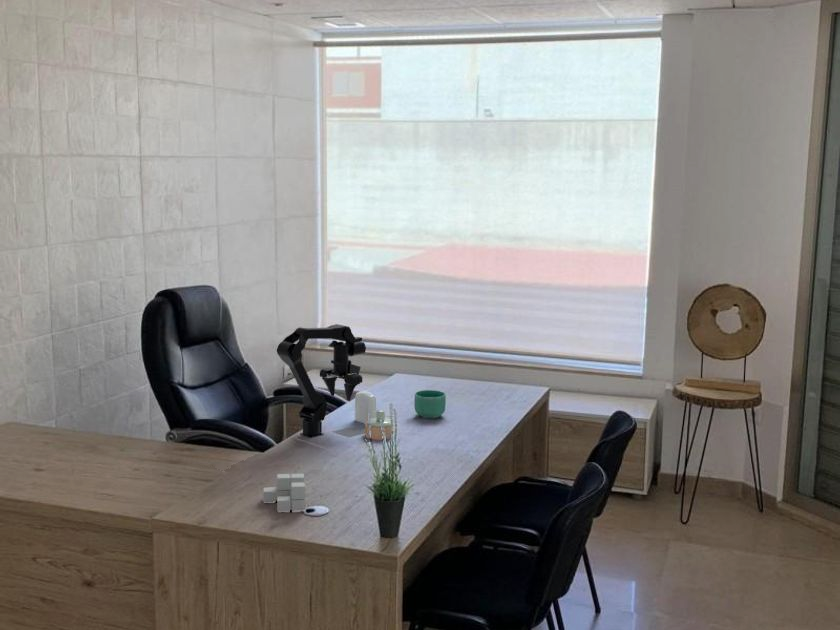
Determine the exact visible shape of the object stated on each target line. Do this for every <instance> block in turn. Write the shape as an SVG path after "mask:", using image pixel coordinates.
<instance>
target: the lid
mask: <svg viewBox="0 0 840 630" xmlns="http://www.w3.org/2000/svg"><path fill="white" fill-rule="evenodd" d="M381 417H382V423H383V427H388V426H391V421H390V420H391V418H387V417H386V411H385V409H376V418H372V419H370V421H371V426H374V427H381V425H380V419H381ZM367 424H368V425H369V420H367Z"/></svg>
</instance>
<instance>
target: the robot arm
mask: <svg viewBox="0 0 840 630" xmlns="http://www.w3.org/2000/svg"><path fill="white" fill-rule="evenodd" d="M313 339H314V340H318V339H332V341H331V343H329V345H328V348H329V347H330V348H332V349H333V352H332V353H333V360H332V359H331V361H330V363H331V364H333V365H332V366H333V367H327V368H322V369H320V371H319V377H321V380H322V381H323V382H324V384H325V386H326V388H327V389H328V392H329V395H330V396H331V397H334V396H335V391H336V381H337V379H341V380H343V382H344V383H343V386H344V387H343V388H344V393H345V396H346V400H347V401H351V398H352V396H353V393H354V390H355V388H356V387H357V386H358V385H360V384H361V383H363V376H362V375H361V374H360V370H361V366H358V365H355V364H353V363H352V360H350V359H349V357H353V356H354V357H356V356H361V355H364V354H365V353H366V351H367V347H366V346H367V345H366V343H365V341H364V340H363V337H360V336H357V337H356V336H354V334H353V332H352V328H351V327H350V326H348V325H343V324H338V323H337V324H331V325H329V326H327V327H300V326H299V327H298V328H296V329H295V330H294V331H293V332H292V333H290V334H289V335H287V336H286V337H284V339H283V340H282V341H281V342H280V343H279V344H278V345H277V348H276V353H277V355H278V357H279V358H280V359H281V361H282V362H284V363H285V364H286V365H287V366H288V367H289V370H290V371H291V373H292V375H293V377H294V379H295V381H296V384H297V386H298V387H299V389H300V392H301V394H302V396H303V398H302V403H303V406H302V408H301V409H300V411H299V412H298V416H299V418H300V419H302V432H300V433H299V435H300V436H304V437H307V438H311V439H312V438H315V437H320V436H324V435H325V434H324V433H323V432H322V431H323V429H322V428H323V427H322V424H323V423H322V421H325V416H326V415H327V410H328V408H329V407H328V402H329V401H328V400H327V399H326V396H325V394H324V393H322V392H318V391H316V389H315V387H314V385H313V383H312V381H311V378H310V376H309V374H308V372H307V370H306V368H305V366H304V364H303V362H302V359H303V353H302V352H303V350H304V349H305V348H306V346H307V345H306V344H307V342H308V340H313ZM337 340H338V341H337ZM296 342H297V343H296Z"/></svg>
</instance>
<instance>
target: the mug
mask: <svg viewBox="0 0 840 630" xmlns="http://www.w3.org/2000/svg"><path fill="white" fill-rule="evenodd" d="M446 401H447V397H446V393H445V391H440V390H436V389H435V390H432V389H423V390H418V391H415V393H414V400H413V402H414V405H413V406H414V411H415V412H416V414H417V415H418V416H420V417H421V418H424V419H429V420H430V419H432V420H433V419H437V418H439V417H440V416H442V415H443V414H444V413H445V411H446V403H447V402H446Z"/></svg>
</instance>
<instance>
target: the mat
mask: <svg viewBox="0 0 840 630" xmlns="http://www.w3.org/2000/svg"><path fill="white" fill-rule="evenodd" d="M331 432H332V433H334V434H338V435H341V436H345V437H347V438H352V437H356V436H360V435H365V429H364V430H363V429H360V428H357V427H354V426H349V427H344V428H341V429H336V430H332V431H331Z"/></svg>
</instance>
